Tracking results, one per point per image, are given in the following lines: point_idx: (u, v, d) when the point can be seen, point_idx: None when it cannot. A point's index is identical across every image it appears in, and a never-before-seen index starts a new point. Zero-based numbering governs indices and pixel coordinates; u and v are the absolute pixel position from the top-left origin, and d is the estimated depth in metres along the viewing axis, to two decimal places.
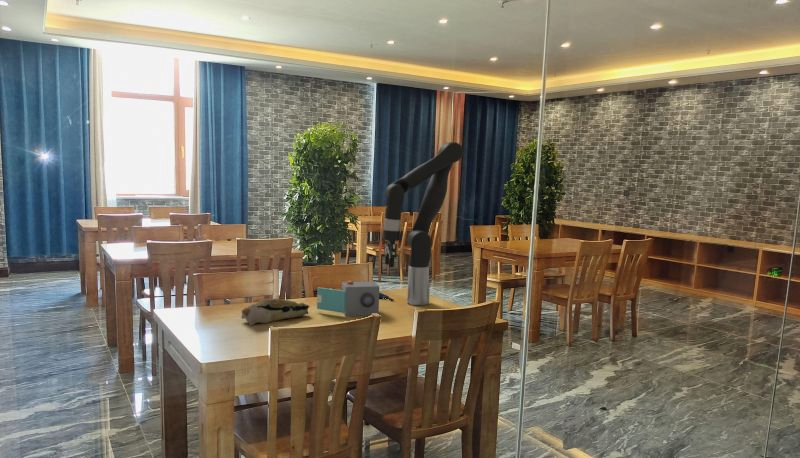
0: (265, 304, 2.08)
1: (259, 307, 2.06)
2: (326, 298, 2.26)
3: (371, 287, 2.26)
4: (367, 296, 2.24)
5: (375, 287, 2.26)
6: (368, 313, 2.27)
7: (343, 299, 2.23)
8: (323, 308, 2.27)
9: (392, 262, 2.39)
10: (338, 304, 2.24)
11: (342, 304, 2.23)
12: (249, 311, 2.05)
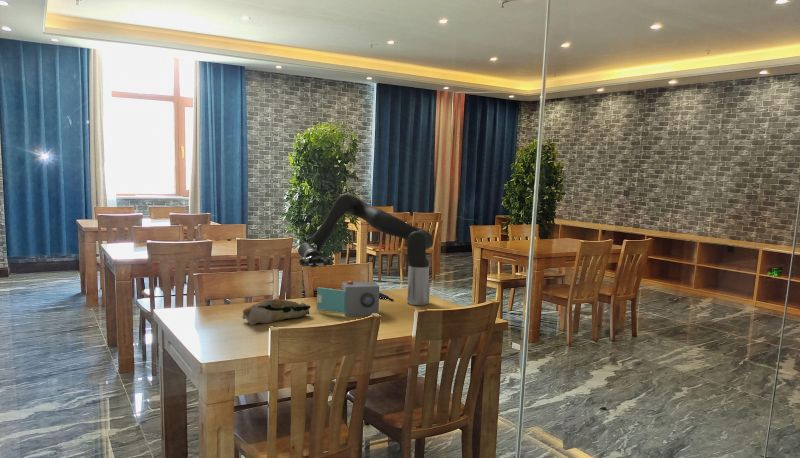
0: (266, 304, 2.08)
1: (260, 307, 2.05)
2: (326, 298, 2.26)
3: (371, 287, 2.26)
4: (367, 296, 2.24)
5: (375, 287, 2.26)
6: (368, 313, 2.27)
7: (343, 299, 2.23)
8: (323, 308, 2.27)
9: (305, 262, 2.40)
10: (338, 304, 2.24)
11: (342, 304, 2.23)
12: (250, 311, 2.05)
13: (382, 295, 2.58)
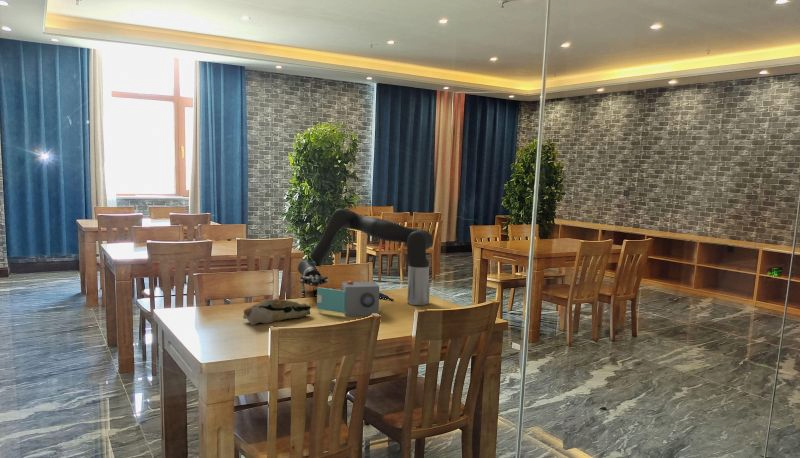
0: (267, 304, 2.08)
1: (260, 307, 2.05)
2: (326, 298, 2.26)
3: (371, 287, 2.26)
4: (367, 296, 2.24)
5: (375, 287, 2.26)
6: (368, 313, 2.27)
7: (343, 299, 2.23)
8: (323, 308, 2.27)
9: (312, 282, 2.41)
10: (338, 304, 2.24)
11: (342, 304, 2.23)
12: (250, 311, 2.05)
13: (382, 295, 2.58)
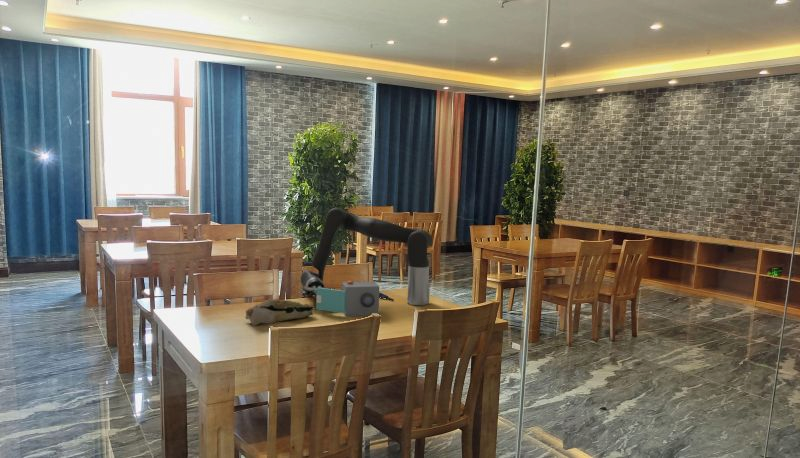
0: (268, 305, 2.07)
1: (262, 308, 2.05)
2: (326, 298, 2.26)
3: (371, 287, 2.26)
4: (367, 296, 2.24)
5: (375, 287, 2.26)
6: (368, 313, 2.27)
7: (343, 299, 2.23)
8: (323, 308, 2.27)
9: (315, 294, 2.30)
10: (338, 304, 2.24)
11: (342, 304, 2.23)
12: (252, 311, 2.05)
13: (382, 295, 2.58)
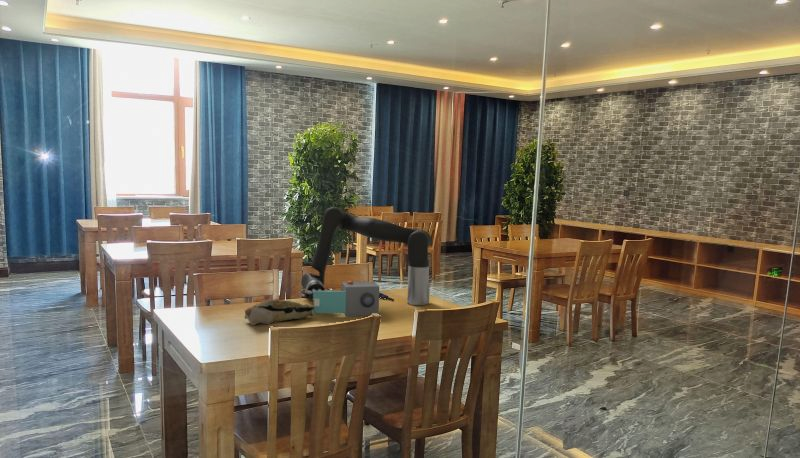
0: (267, 305, 2.07)
1: (260, 307, 2.05)
2: (324, 301, 2.21)
3: (371, 287, 2.26)
4: (367, 296, 2.24)
5: (375, 287, 2.26)
6: (368, 313, 2.27)
7: (344, 299, 2.22)
8: (321, 311, 2.22)
9: None
10: (339, 305, 2.22)
11: (343, 304, 2.22)
12: (250, 311, 2.05)
13: (382, 295, 2.58)
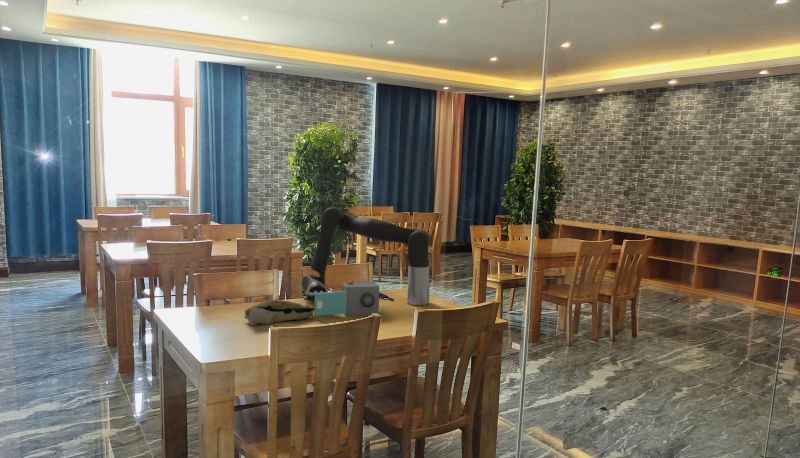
0: (266, 305, 2.07)
1: (259, 308, 2.05)
2: (326, 302, 2.19)
3: (371, 287, 2.26)
4: (367, 296, 2.24)
5: (375, 287, 2.26)
6: (368, 313, 2.27)
7: (345, 299, 2.22)
8: (323, 313, 2.19)
9: None
10: (340, 305, 2.22)
11: (344, 304, 2.22)
12: (249, 311, 2.05)
13: (381, 295, 2.58)
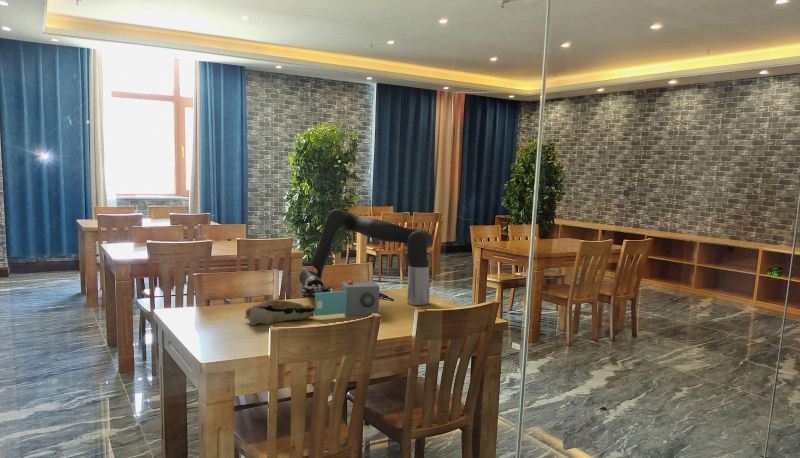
0: (266, 305, 2.07)
1: (260, 308, 2.04)
2: (326, 302, 2.19)
3: (371, 287, 2.26)
4: (367, 296, 2.24)
5: (375, 287, 2.26)
6: (368, 313, 2.27)
7: (345, 299, 2.22)
8: (323, 313, 2.19)
9: (315, 292, 2.33)
10: (340, 305, 2.22)
11: (344, 304, 2.22)
12: (250, 311, 2.05)
13: (381, 295, 2.58)
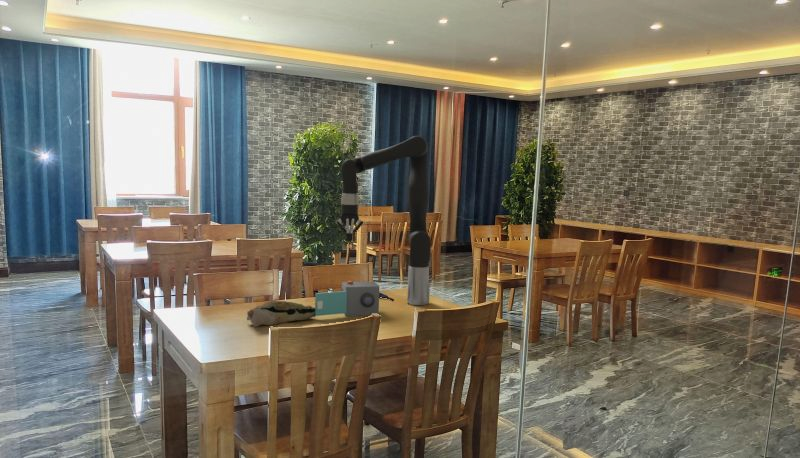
0: (269, 306, 2.05)
1: (263, 309, 2.03)
2: (326, 302, 2.19)
3: (371, 287, 2.26)
4: (367, 296, 2.24)
5: (375, 287, 2.26)
6: (368, 313, 2.27)
7: (345, 299, 2.22)
8: (323, 313, 2.18)
9: (346, 236, 2.50)
10: (340, 305, 2.22)
11: (344, 304, 2.22)
12: (253, 313, 2.03)
13: (381, 295, 2.59)
